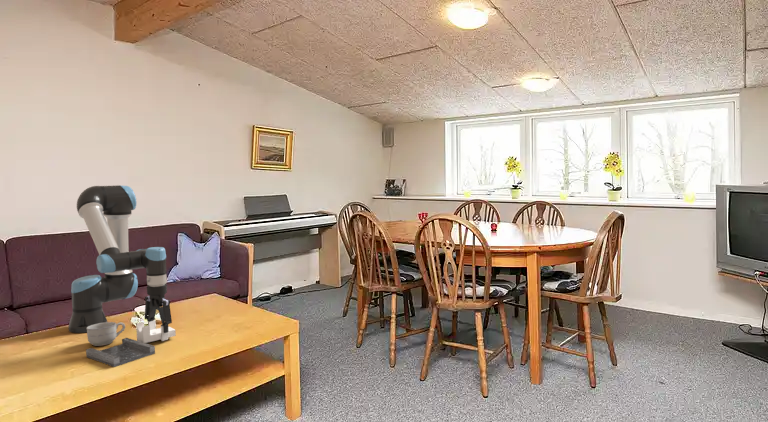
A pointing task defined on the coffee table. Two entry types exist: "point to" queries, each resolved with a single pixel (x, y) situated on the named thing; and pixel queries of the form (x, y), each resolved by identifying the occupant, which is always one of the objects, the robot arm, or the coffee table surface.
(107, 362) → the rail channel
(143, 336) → the bracket
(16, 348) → the coffee table surface
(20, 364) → the coffee table surface
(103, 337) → the teacup
